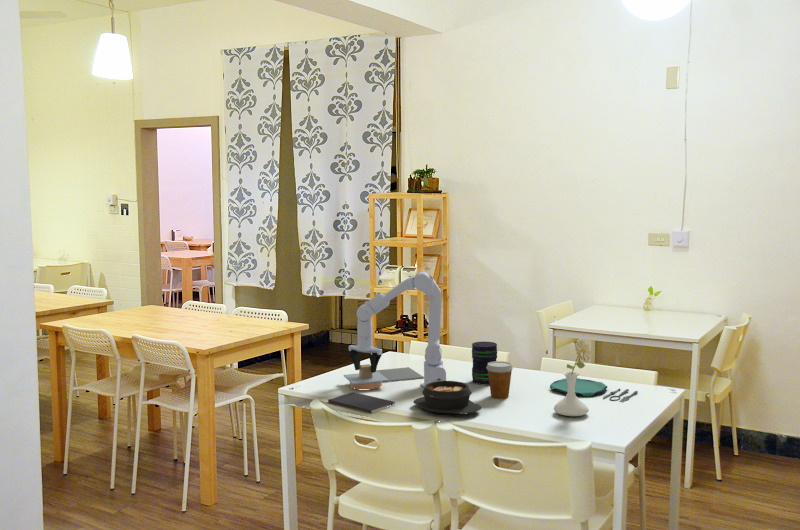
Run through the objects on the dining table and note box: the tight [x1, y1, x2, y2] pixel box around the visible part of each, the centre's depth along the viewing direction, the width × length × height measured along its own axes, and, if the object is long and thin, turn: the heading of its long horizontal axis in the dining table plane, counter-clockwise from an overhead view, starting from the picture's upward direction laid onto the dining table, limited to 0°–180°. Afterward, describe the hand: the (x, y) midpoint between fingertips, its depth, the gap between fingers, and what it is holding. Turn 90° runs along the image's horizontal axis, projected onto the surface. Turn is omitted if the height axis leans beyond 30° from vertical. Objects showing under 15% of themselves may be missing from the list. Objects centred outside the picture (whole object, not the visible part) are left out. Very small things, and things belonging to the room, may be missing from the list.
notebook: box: [327, 391, 396, 414], centre depth 263 cm, size 13×2×21 cm
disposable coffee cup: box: [486, 360, 514, 400], centre depth 269 cm, size 10×10×12 cm
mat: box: [376, 366, 424, 383], centre depth 303 cm, size 18×18×1 cm
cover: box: [343, 363, 389, 385], centre depth 286 cm, size 14×14×5 cm
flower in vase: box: [553, 338, 592, 417], centre depth 246 cm, size 13×11×25 cm
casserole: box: [413, 380, 482, 415], centre depth 254 cm, size 25×19×8 cm
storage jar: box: [471, 341, 498, 386], centre depth 290 cm, size 10×10×15 cm
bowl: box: [349, 381, 383, 390], centre depth 286 cm, size 12×12×3 cm
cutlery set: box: [549, 377, 639, 403], centre depth 274 cm, size 20×30×2 cm, turn 51°
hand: (365, 371), depth 286 cm, fingers open, 7 cm apart
